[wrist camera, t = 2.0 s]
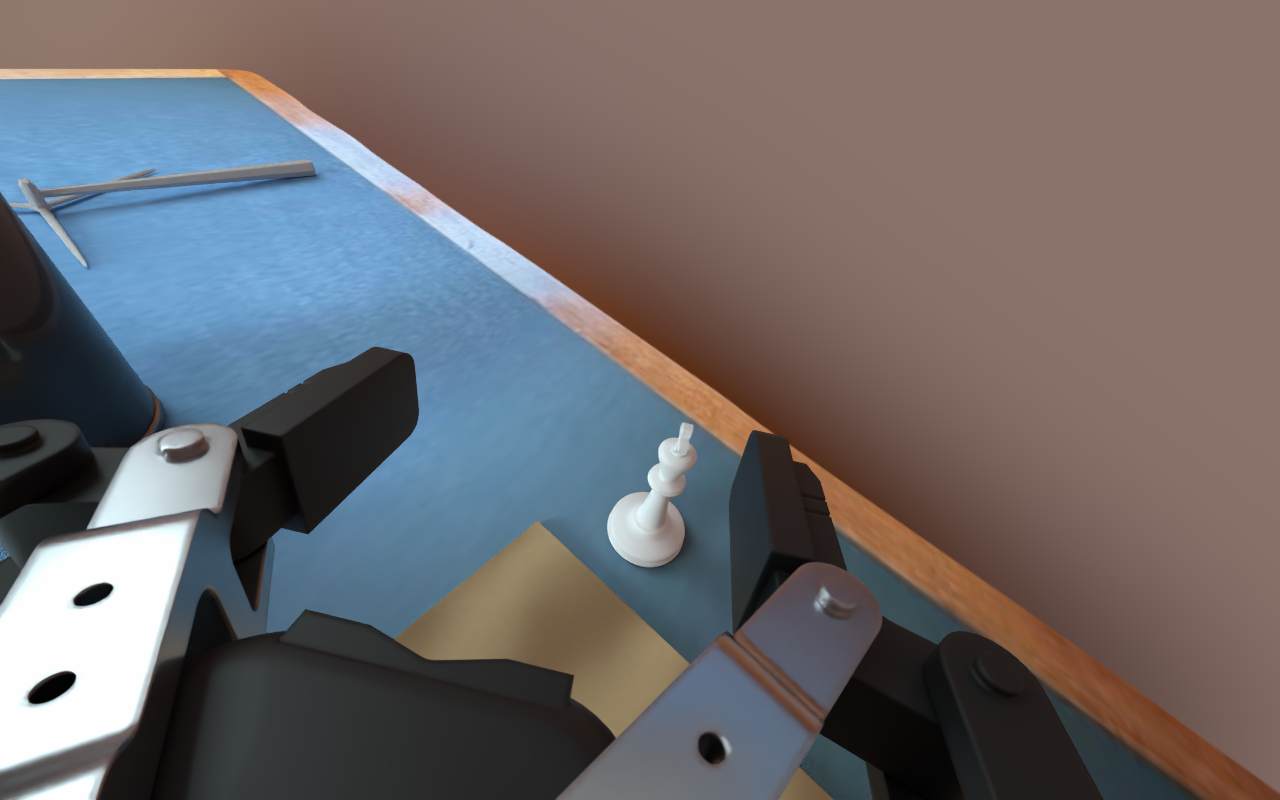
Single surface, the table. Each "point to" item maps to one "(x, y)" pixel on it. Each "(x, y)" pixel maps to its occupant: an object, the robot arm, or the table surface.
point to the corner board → (560, 633)
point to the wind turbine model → (166, 181)
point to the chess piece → (654, 508)
